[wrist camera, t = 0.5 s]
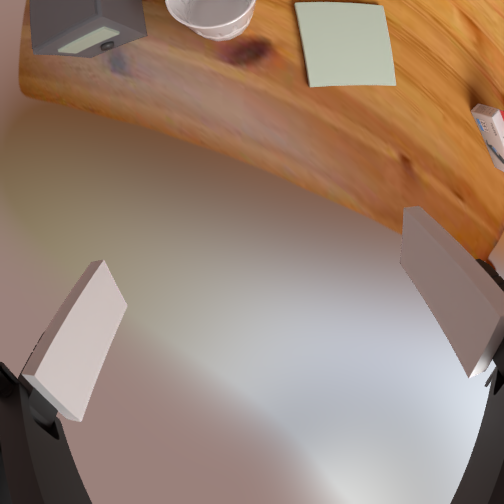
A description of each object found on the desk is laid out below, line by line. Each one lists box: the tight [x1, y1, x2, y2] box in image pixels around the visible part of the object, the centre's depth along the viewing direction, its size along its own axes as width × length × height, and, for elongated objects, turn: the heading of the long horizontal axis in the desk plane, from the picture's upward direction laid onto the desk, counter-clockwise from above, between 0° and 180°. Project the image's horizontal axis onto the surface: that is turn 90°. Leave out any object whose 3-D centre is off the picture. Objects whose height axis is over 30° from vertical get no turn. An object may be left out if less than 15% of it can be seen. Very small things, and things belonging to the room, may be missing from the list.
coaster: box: [294, 2, 396, 87], centre depth 26 cm, size 11×11×1 cm
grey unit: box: [30, 0, 147, 58], centre depth 19 cm, size 11×8×13 cm
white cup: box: [165, 0, 256, 41], centre depth 21 cm, size 8×8×10 cm
